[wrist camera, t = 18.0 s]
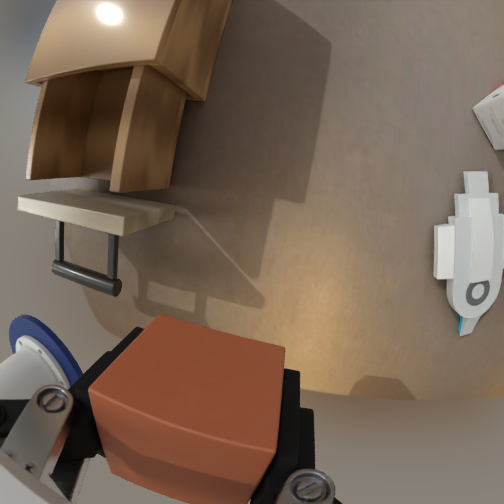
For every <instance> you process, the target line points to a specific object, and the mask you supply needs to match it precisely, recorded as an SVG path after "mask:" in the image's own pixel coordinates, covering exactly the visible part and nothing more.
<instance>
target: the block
mask: <svg viewBox="0 0 504 504" xmlns="http://www.w3.org/2000/svg"><path fill="white" fill-rule="evenodd" d="M284 360H285V347H283V346H278V345H274V344H269V343H265V342H261V341H256V340H252V339H248V338H244V337H240V336H236V335H232V334H228V333H225V332H221V331H217V330H214V329H210V328H206V327H203V326H199V325H196V324H192V323H189V322H186V321H182V320H179V319H176V318H173V317H169V316H166V315H163V314H159V315H158V316H157V317H156V318H155V319H154V320H153V321H152V322H151V323H150V324H149V325H148V326H147V327H146V328H145V329H144V330H143V331H142V332H141V333H140V335H139V336H138V337H137V338H136V339H135V340H134V341H133V342H132V343H131V344H130V345H129V346H128V347H127V348H126V349H125V350H124V351H123V352H122V353H121V354H120V355H119V356H118V357H117V358H116V359H115V360H114V362H113V363H112V364H111V365H110V366H109V367H108V368H107V369H106V370H105V371H104V372H103V373H102V374H101V375H100V376H99V377H98V378H97V379H96V380H95V382H94V383H93V384H92V385H91V386H90V387H89V389H88V392H89V397H90V401H91V406H92V410H93V414H94V418H95V422H96V426H97V430H98V433H99V437H100V440H101V443H102V447H103V450H104V453H105V456H106V459H107V462H108V465H109V468H110V471H111V472H112V473H113V474H115V475H117V476H119V477H121V478H123V479H125V480H128V481H130V482H132V483H134V484H137V485H139V486H142V487H144V488H147V489H149V490H152V491H154V492H157V493H159V494H162V495H165V496H168V497H171V498H174V499H177V500H180V501H183V502H186V503H189V504H247V503H248V502H249V500H250V498H251V497H252V495H253V493H254V491H255V490H256V488H257V486H258V485H259V483H260V481H261V479H262V477H263V476H264V474H265V472H266V470H267V468H268V466H269V464H270V463H271V461H272V459H273V457H274V455H275V453H276V449H277V440H278V430H279V420H280V409H281V398H282V386H283V373H284Z"/></svg>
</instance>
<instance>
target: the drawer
mask: <svg viewBox="0 0 504 504" xmlns="http://www.w3.org/2000/svg"><path fill="white" fill-rule="evenodd" d="M186 96H187V92H185V91H184V90H183V89H182V88H180V87H179V86H178V85H176V84H175V83H174V82H172V81H171V80H170V79H168V78H167V77H166V76H164V75H163V74H161V73H160V72H159V71H157V70H156V69H154V68H153V67H152V66H150V65H137V66H125V67H116V68H108V69H101V70H94V71H88V72H82V73H76V74H71V75H66V76H62V77H57V78H53V79H49V80H45V81H43V84H42V87H41V91H40V95H39V99H38V103H37V107H36V112H35V117H34V122H33V127H32V133H31V139H30V145H29V152H28V160H27V170H26V180H39V179H54V178H71V177H85V178H93V179H101V180H109V181H111V183H110V191H111V192H117V193H122V192H132V191H142V190H154V189H167V188H169V185H170V178H171V172H172V166H173V160H174V154H175V149H176V143H177V138H178V133H179V128H180V123H181V118H182V114H183V109H184V104H185V100H186ZM18 210H19V211H22V212H27V213H30V214H34V215H38V216H42V217H46V218H50V219H54V220H56V223H55V252H56V253H55V254H56V259H55V260H54V261H53V263H52V272H53V273H54V274H56V275H59V276H61V277H63V278H66V279H69V280H71V281H74V282H76V283H79V284H81V285H84V286H87V287H89V288H92V289H95V290H97V291H100V292H103V293H106V294H109V295H112V296H114V297H116V296H118V295H119V293H120V292H121V288H122V282H121V280H120V279H118V278H117V265H118V243H119V236H126V235H129V234H132V233H134V232H137V231H140V230H143V229H146V228H149V227H152V226H155V225H157V224H160V223H163V222H166V221H169V220H172V219H174V213H175V205H171V204H166V203H160V202H154V201H149V200H143V199H137V198H131V197H125V196H119V195H113V194H107V193H101V192H94V191H88V190H81V189H69V190H60V191H51V192H43V193H35V194H28V195H21V196H18ZM64 222H66V223H70V224H74V225H78V226H82V227H86V228H90V229H94V230H98V231H102V232H106V233H109V241H108V275H105V274H102V273H99V272H96V271H93V270H90V269H87V268H84V267H81V266H78V265H75V264H73V263H69V262H67V261H64Z"/></svg>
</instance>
